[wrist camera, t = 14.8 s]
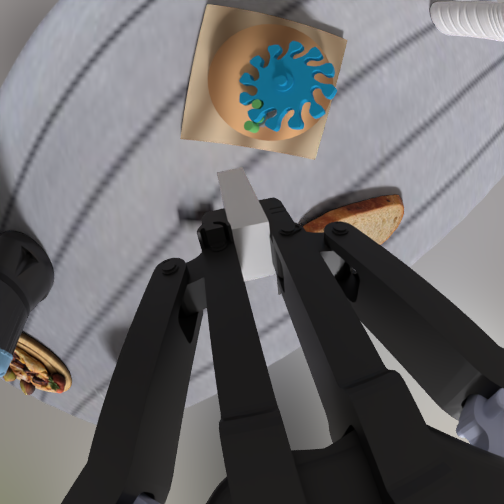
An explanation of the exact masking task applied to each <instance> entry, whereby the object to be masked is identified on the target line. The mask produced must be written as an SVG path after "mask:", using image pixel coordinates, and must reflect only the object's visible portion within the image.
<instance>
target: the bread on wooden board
mask: <svg viewBox="0 0 504 504" xmlns="http://www.w3.org/2000/svg"><path fill="white" fill-rule="evenodd" d="M292 41H296V42H299V43H301V44H302V45H303V46H304V51H303V52H301V53H299V54H296V55H295V56H294V57H293V59H296V58H299V57H302V56H304V55H305V54H307V53H308V52H309V50H310V49H311V48H313V47H317V48H318V49H319V50H320V52H321V53H322V55H323V57H324V58H323V59H322V60H321V61H309V62H308V63H307V65H308V66H320V65H323V64H325V63H332V64H333V66H334V69H335V75H334V77H333V78H328V77H326V76H325V75H323V74H322V73H317V74H316V75H315V76H314V79H315V80H317V81H318V82H320V83H323V84H332V85H333V86H334V87H336V83H337V79H338V75H339V72H340V68H341V64H342V60H343V56H344V52H345V48H346V44H347V40H346V39H343V38H341V37H338V36H336V35H333V34H330V33H328V32H325V31H322V30H319V29H316V28H313V27H310V26H307V25H304V24H301V23H298V22H294V21H291V20H287V19H283V18H280V17H276V16H272V15H267V14H263V13H259V12H254V11H249V10H243V9H238V8H232V7H225V6H218V5H210V4H207V7H206V10H205V14H204V18H203V22H202V26H201V30H200V34H199V39H198V43H197V47H196V52H195V57H194V62H193V66H192V71H191V77H190V82H189V87H188V93H187V99H186V105H185V111H184V118H183V124H182V131H181V138H180V139H187V140H197V141H206V142H214V143H222V144H230V145H237V146H244V147H250V148H256V149H262V150H268V151H274V152H279V153H285V154H290V155H295V156H300V157H304V158H309V159H314V160H315V158H316V155H317V151H318V148H319V144H320V141H321V137H322V134H323V130H324V127H325V123H326V120H327V116H328V113H329V109H330V105H331V102H332V99H331V100H329V99H327V98H326V97H325V96H324V95H323V93H322V91H321V89H319V88H318V89H315V90H314V91H313V96H314V99H315V101H316V103H318V104H319V105H321V106H322V107H323V108H324V110H325V112H326V114H325V115H323V116H322V117H320V118H318V119H315V118H313V117H312V116H311V115H310V113H309V109H310V105H311V103H310V102H306V103H305V104H304V105H303V107H302V112H301V116H302V120H303V122H304V128H303V129H300V130H294V129H291V128H290V127H288V121H289V119H290V118H291V117H292V116H293V115H294V110H290V111H289V112H288V113H287V114H286V115H285V116H284V118H283V119H282V122H281V128H280V130H279V131H278V132H276V131H273V130H271V129H269V128H268V127H266V126H265V127H259V131H258V132H257V133H252V132H250V131H247V130H245V129H244V124H245V122H246V121H249V120H250V121H251V119H250V118H249V116H248V111H249V110H250V109H254V108H253V107H252V103H251V104H250V105H247V106H245V105H243V104H241V103H240V102H239V97H240V93H242V92H247V93H248V94H250V95H251V96H254V95H256V94H257V91H258V90H257V88H256V87H255V86H245V85H243V84H242V83H240V82H239V80H240V78H241V76H242V75H243V74H244V73H249V74H250V75H251V76H253V78H254V81H256V80H258V78H259V71H258V69H257V68H255V67H254V66H253V65H251V64H250V60H251V59H252V58H254V57H255V56H257V55H259V56H260V57H261V58H263V59H264V61H265V63H264V66H263V68H265V67H267V66H268V64H269V61H270V53H269V52H268V47H269V46H271V45H279V46H280V47H281V48H282V49H283V52H282V54H281V55H280V56H279V57H278V58H277V60H279V59H281V58H282V57H283V56H285V54H286V53H287V52H288V49H289V44H290V42H292ZM263 103H264V102H263ZM252 122H253V121H252Z"/></svg>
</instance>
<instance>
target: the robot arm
mask: <svg viewBox="0 0 504 504" xmlns="http://www.w3.org/2000/svg"><path fill="white" fill-rule="evenodd" d="M217 175H218V180H219V185H220V190H221V195H222V200H223V205H224V209H219V210H215V211H210V212H206V213H205V214H204V216H203V217H202V225H201V226H200V227H199V228H198V230H197V235H198V239H199V242H200V246H201V249H202V253H201V254H200V255H199V256H198V257H196V258H195V259H193V260H191V261H189V262H187V263H185V261H184V260H182V259H180V258H171V259H167V260H165V261H163V262H161V263H160V264H159V265H157V267H156V268H155V270H154V272H153V274H152V276H151V279H150V281H149V283H148V285H147V288H146V290H145V292H144V295H143V297H142V299H141V302H140V304H139V307H138V309H137V312H136V314H135V316H134V319H133V321H132V324H131V327H130V329H129V332H128V334H127V337H126V339H125V342H124V345H123V347H122V350H121V353H120V356H119V358H118V361H117V364H116V367H115V370H114V373H113V376H112V379H111V381H110V384H109V388H108V391H107V394H106V397H105V400H104V403H103V406H102V410H101V413H100V416H99V420H98V423H97V427H96V430H95V434H94V438H93V441H92V446H91V449H90V453H89V457H88V462H87V464H86V465H85V467H84V468H83V470H82V471H81V473H80V475H79V476H78V478H77V479H76V481H75V482H74V484H73V486H72V487H71V489H70V490H69V492H68V494H67V495H66V496H65V498H64V500H63V501H62V503H61V504H164V503H165V501H166V499H167V496H168V493H169V491H170V487H171V482H172V478H173V473H174V466H175V459H176V454H177V448H178V441H179V436H180V429H181V424H182V418H183V412H184V407H185V401H186V396H187V391H188V385H189V380H190V375H191V370H192V365H193V360H194V355H195V350H196V345H197V340H198V335H199V330H200V326H201V321H202V316H203V309H205V308H207V312H208V322H209V330H210V339H211V347H212V355H213V363H214V370H215V378H216V385H217V392H218V398H219V405H220V411H221V420H220V422H219V432H220V439H221V446H222V451H223V457H224V463H225V468H226V473H227V477H226V478H225V479H224V480H223V481H222V482H221V483H220V484H219V485H218V486H217V487H216V489H215V490H214V492H213V493H212V495H211V496H210V498H209V500H208V501H207V503H206V504H504V348H502V347H500V346H498V345H497V344H496V343H495V342H494V341H493V340H492V339H491V338H490V337H489V336H488V335H487V334H486V333H485V332H484V331H483V330H482V329H481V328H480V327H479V326H477V325H476V324H475V323H474V322H473V321H472V320H471V319H470V318H469V317H468V316H467V315H466V314H464V313H463V312H462V311H461V310H460V309H459V308H458V307H457V306H455V305H454V304H453V303H452V302H451V301H450V300H448V299H447V298H446V297H445V296H444V295H443V294H441V293H440V292H439V291H438V290H437V289H435V288H434V287H433V286H432V285H431V284H429V283H428V282H427V281H426V280H425V279H423V278H422V277H421V276H420V275H418V274H417V273H416V272H415V271H413V270H412V269H411V268H410V267H408V266H407V265H406V264H404V263H403V262H402V261H401V260H399V259H398V258H397V257H395V256H394V255H393V254H391V253H390V252H389V251H387V250H386V249H385V248H383V247H382V246H381V245H379V244H378V243H377V242H375V241H374V240H372V239H371V238H370V237H368V236H367V235H366V234H364V233H363V232H361V231H360V230H359V229H357V228H356V227H354V226H353V225H351V224H349V223H347V222H342V221H336V222H331V223H329V224H327V225H326V226H325V228H324V232H307V231H306V230H305V229H304V227H302V226H301V225H300V224H297V223H294V221H293V220H292V218H291V217H290V215H289V213H288V212H287V211H286V209H285V207H284V206H283V204H282V202H281V201H280V200H278V199H276V198H274V197H273V198H268V199H263V200H258V199H257V196H256V194H255V192H254V190H253V188H252V186H251V184H250V182H249V180H248V178H247V176H246V174H245V172H244V170H243V168H237V169H232V170H227V171H222V172H217ZM274 268H275V271H276V274H277V284H278V294H279V295H280V294H281V293H282V296H283V299H284V301H285V304H286V307H287V309H288V312H289V314H290V317H291V320H292V323H293V325H294V328H295V331H296V333H297V336H298V339H299V341H300V344H301V347H302V349H303V352H304V355H305V358H306V360H307V363H308V366H309V368H310V371H311V374H312V377H313V379H314V382H315V385H316V387H317V390H318V393H319V396H320V399H321V402H322V404H323V407H324V409H325V412H326V415H327V419H328V423H329V431H330V435H331V439H332V442H333V444H331V445H330V446H328V447H326V448H324V449H313V450H294V451H291V449H290V445H289V442H288V438H287V435H286V431H285V428H284V424H283V421H282V418H281V414H280V411H279V409H278V406H277V402H276V399H275V395H274V392H273V388H272V384H271V381H270V377H269V373H268V370H267V366H266V362H265V358H264V355H263V351H262V347H261V343H260V340H259V336H258V332H257V328H256V325H255V321H254V317H253V313H252V309H251V306H250V302H249V298H248V294H247V290H246V286H245V282H244V281H249V280H253V279H258V278H262V277H266V276H271V275H275V273H274ZM352 268H353V269H352ZM354 269H355V270H356V271H355V270H354ZM53 282H54V272H53V268H52V265H51V263H50V261H49V259H48V257H47V255H46V254H45V252H44V251H43V250H42V248H41V247H40V246H39V245H38V244H37V243H36V242H35V241H34V240H32V239H31V238H29V237H28V236H26V235H24V234H22V233H20V232H16V231H7V232H4V233H2V234H1V235H0V377H3V376H4V375H5V374H6V372H7V369H8V367H9V365H10V363H11V360H12V359H13V354H14V351H15V349H16V346H17V343H18V340H19V338H20V335H21V333H22V330H23V328H24V325H25V323H26V321H27V318H28V316H29V314H30V312H31V311H32V310H33V309H34V308H35V307H36V306H37V304H38V303H39V302H41V301H42V300H44V299H45V298H46V297H47V295H48V294H49V292H50V290H51V288H52V285H53ZM361 322H362V323H363V324H364V325H365V326H366V327H367V328H368V329H369V330H370V332H371V333H372V334H373V335H374V336H375V337H376V338H377V339H378V340H379V341H380V342H381V343H382V344H383V345H384V347H385V348H386V349H387V350H388V351H389V352H390V353H391V354H392V355H393V356H394V357H395V358H396V359H397V361H398V362H399V363H400V364H401V365H402V366H403V367H404V368H405V369H406V370H407V372H408V373H409V374H410V375H411V376H412V377H413V378H414V379H415V380H416V381H417V382H418V384H419V385H420V386H421V387H422V388H423V389H424V390H425V391H426V393H427V394H428V395H429V396H430V397H431V398H432V399H433V400H434V401H435V402H436V404H437V405H438V406H439V407H441V409H443V410H444V411H445V412H446V413H448V414H449V415H450V416H451V417H453V418H455V419H456V420H458V421H459V424H458V425H457V428H456V433H457V435H458V436H459V437H462V438H464V437H465V438H466V439H467V440H468V441H469V442H470V444H469V443H466V442H464V441H462V440H459V439H457V438H455V437H452V436H450V435H448V434H446V433H444V432H441V431H439V430H437V429H435V428H433V427H430V426H429V425H426V423H425V421H424V419H423V417H422V415H421V413H420V411H419V409H418V407H417V405H416V403H415V401H414V399H413V397H412V395H411V393H410V391H409V389H408V387H407V385H406V383H405V381H404V380H403V378H402V377H401V375H400V374H399V373H398V372H396V371H395V370H388V369H387V368H386V367H385V365H384V364H383V362H382V360H381V358H380V356H379V354H378V352H377V351H376V349H375V347H374V345H373V343H372V341H371V340H370V338H369V336H368V334H367V332H366V330H365V329H364V327H363V325H362V324H361Z"/></svg>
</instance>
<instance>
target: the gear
mask: <svg viewBox="0 0 504 504" xmlns="http://www.w3.org/2000/svg"><path fill="white" fill-rule="evenodd" d="M303 51H304V46H303V45H302V44H301V43H299V42H296V41H292V42H290V44H289V49H288V52H287V53H286V54H285V56H283V57H282V58H281V59H279V60H277V58H278V57H279V56H280V55H281V54H282V52H283V49H282V48H281V47H280V46H279V45H271V46H269V47H268V52H269V53H270V61H269V64H268V66H267V67H265V68H263V66H264V63H265V61H264V59H263V58H261V57H260V56H259V55H257V56H255V57H254V58H252V59H251V60H250V64H251V65H253V66H254V67H255V68H257V69H258V71H259V78H258V80H256V81H254V78H253V76H251V75H250V74H249V73H244V74H243V75H242V76H241V78H240V80H239V82H240V83H242V84H243V85H245V86H255V87H256V88H257V90H258V91H257V94H256V95H254V96H251V95H250V94H248V93H247V92H242V93H240V97H239V102H240V103H241V104H243V105H245V106H247V105H250V104H251V103H252V107H253V108H254V109H250V110H249V111H248V116H249V118H250V119H251V121H250V120H249V121H246V122H245V124H244V129H245V130H247V131H250V132H252V133H257V132H258V131H259V127H265V126H266V127H268V128H269V129H271V130H273V131H276V132H278V131H279V130H280V128H281V122H282V119H283V118H284V116H285V115H286V114H287V113H288V112H289V111H290V110H294V115H293V116H292V117H291V118H290V119H289V121H288V127H290V128H291V129H294V130H300V129H303V128H304V122H303V120H302V116H301V112H302V107H303V105H304V104H305V103H306V102H310V103H311V105H310V109H309V113H310V115H311V116H312V117H313V118H315V119H318V118H320V117H322V116H323V115H325V114H326V112H325V110H324V108H323V107H322V106H321V105H319V104H318V103H316V101H315V99H314V96H313V91H314V90H315V89H318V88H319V89H321V91H322V93H323V95H324V96H325V97H326V98H327V99H329V100H331V99H332V98H333V97H334V96H335V94H336V92H337V90H336V88H335V87H334V86H333V85H332V84H323V83H320V82H318V81H317V80H315V79H314V76H315V75H316V74H317V73H322V74H323V75H325V76H326V77H328V78H333V77H334V75H335V69H334V66H333V64H332V63H325V64H323V65H320V66H308V65H307V63H308V62H309V61H321V60H322V59H323V58H324V57H323V55H322V53H321V52H320V50H319V49H318V48H317V47H313V48H311V49H310V50H309V52H308V53H307V54H305V55H304V56H302V57H299V58H296V59H293V57H294V56H295V55H296V54H299V53H301V52H303ZM263 102H264V103H263ZM252 121H253V122H252Z"/></svg>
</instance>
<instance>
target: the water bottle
mask: <svg viewBox="0 0 504 504" xmlns="http://www.w3.org/2000/svg"><path fill="white" fill-rule="evenodd" d="M430 13H431V19H432V21H433V23H434V24H435V26H436V28H437V29H438V30H439V31H440V32H442V33H443V34H445V35H453V36H457V35H458V36H467V37H477V38H484V39H490V40H491V39H492V40H495V41H502V42H504V3H503V2H502V3H501V2H490V1H447V2H445V1H442V2H435V3H433V4H432V6H431V7H430Z"/></svg>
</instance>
